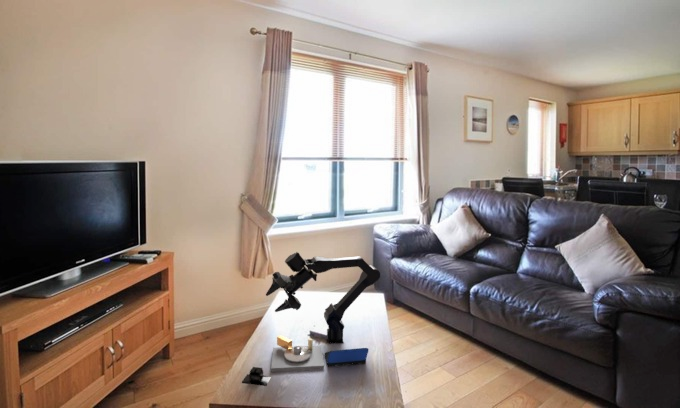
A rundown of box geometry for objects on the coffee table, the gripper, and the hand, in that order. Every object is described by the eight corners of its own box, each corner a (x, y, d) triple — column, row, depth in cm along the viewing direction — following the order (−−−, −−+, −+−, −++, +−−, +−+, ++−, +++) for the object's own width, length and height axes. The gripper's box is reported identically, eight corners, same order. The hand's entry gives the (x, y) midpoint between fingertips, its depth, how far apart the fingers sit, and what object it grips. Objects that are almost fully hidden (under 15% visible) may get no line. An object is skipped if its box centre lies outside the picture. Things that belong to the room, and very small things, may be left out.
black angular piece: (236, 385, 130) (235, 373, 130) (244, 373, 138) (244, 362, 137) (269, 389, 129) (269, 376, 128) (276, 376, 136) (275, 365, 135)
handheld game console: (360, 352, 153) (361, 331, 152) (368, 370, 140) (369, 348, 139) (323, 355, 151) (324, 333, 150) (328, 374, 138) (328, 351, 136)
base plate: (321, 348, 155) (321, 335, 154) (324, 369, 140) (324, 354, 139) (273, 351, 152) (273, 337, 152) (271, 372, 138) (271, 357, 137)
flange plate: (309, 344, 155) (309, 333, 154) (311, 362, 142) (311, 350, 141) (277, 345, 153) (277, 335, 153) (275, 364, 140) (275, 352, 139)
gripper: (281, 256, 155) (252, 280, 153) (301, 287, 143) (270, 313, 142) (293, 267, 164) (265, 290, 162) (313, 297, 152) (283, 322, 150)
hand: (270, 303), depth 154 cm, fingers open, 9 cm apart
